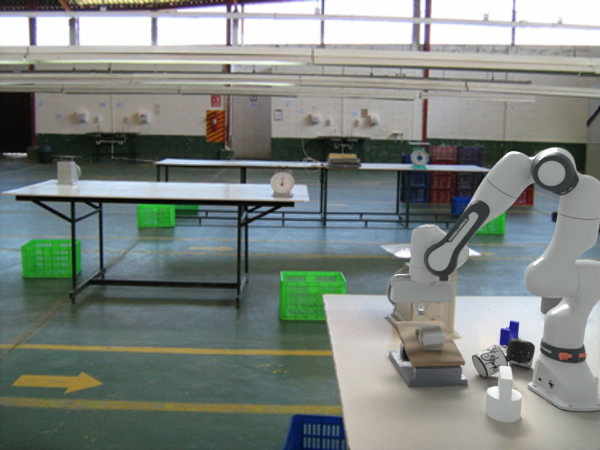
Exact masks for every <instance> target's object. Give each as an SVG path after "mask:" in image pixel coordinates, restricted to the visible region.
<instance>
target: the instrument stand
mask: <svg viewBox="0 0 600 450" xmlns="http://www.w3.org/2000/svg"><path fill="white" fill-rule="evenodd" d="M399 347H400V349H394V350H391V349H389V352H388V357H389V358H390V360H391V361H392V363H393V364H394V366H395V368H396V369H397V371H398V374H400V377H402V379H403V381H404V382H405V384H406V385H407V387H408V388H429V387H430V388H431V387H435V388H436V387H459V386H460V387H461V386H462V387H463V386H468V380H469V379H468V377H467V376H466V375H465V374H464V373H463V368H462V367H463V366H462V365H459V366H420V367H412V365H411V363H410V361H409V358H408V356H407V354H406V351H405V349H404V346H403V344H402V342H400V345H399Z"/></svg>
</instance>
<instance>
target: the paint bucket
mask: <svg viewBox="0 0 600 450" xmlns="http://www.w3.org/2000/svg"><path fill="white" fill-rule="evenodd" d="M506 348H507V349H506V354H505V353H504V351H503V349H501V348H500V347H499V346H498V345H497V344H493V345H491V346H489V347H486V348H485V349H482V350H480V351H478V352H476V353H475V354H472V356H471V361H472V364H473V366H474V368H475V370H476V372H477V373H478V374H479V376H480V377H482V378H483V379H488V378H489V377H491V376H493V375H495V374H497V373H499V366H508V367H509V364H510V365H515V366H520V367H523V368H528V369H532V365H533V362H534V355H535V352H536V351H535V350H536V345H535V344H534V343H532V342H531V341H527V340H522V339H519V338H517V339H514V338H510V340H509V342H508V347H507V346H506Z"/></svg>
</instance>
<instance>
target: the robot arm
mask: <svg viewBox="0 0 600 450" xmlns="http://www.w3.org/2000/svg"><path fill="white" fill-rule="evenodd" d="M532 184H536V185H537V187H539V188H540V189H542V190H545V191H548V192H551V193H552V194H555V195H558V196H559V202H558V209H557V216H556V223H555V226H554V230H553V231H554V232H553V236H552V239H551V241H550V243H549V244H548V246H547V247H546V249H545V250H544V252H543V253H542V254H541V255H540V256H539V257H537V259H535V260H534V261H532V262H531V263H529V264H528V266H527V267H526V268H525V271H524V274H523V282H524V286H525V288H526V290H527V291H528V292H529V293H530V294H531V295H532V296H536V297H541V298H542V297H546V298H563V299H562V301H561V302H560V303H559V304H558V305H557V306H556V307H554V308H552V309H551V310H549V311H548V312H547V314H545V316H544V322H543V334H542V338H541V340H540V343H539V344H540V345H539V346H540V347H539V350H540V353H539V356H538V357H537V359H535V363H534V368H533V372H532V373H533V374H532V379H531V381H530V382H528V384H527V388H528V389H529V390H531V391H532V392H534V393H535V394H537V395H538V396H540V397H542V398H543V399H545V400H546V401H547V402H549V403H551V404H552V405H554V406H556V407H557V408H559V409H561V410H565V411H572V412H596V411H600V394H599V386H598V385H599V377H598V376H595V375H594V374H593V372H592V370H591V368H590V366H589V365H588V363H587V361H586V360H587V358H588V356H587V355H588V353H587V351H586V347H585V344H584V343H585V342H584V341H585V334H586V327H587V322H588V318H589V317H590V314H591V312H592V310H593V308H595V306H596V305H597V303H598V302H599V301H600V261H598V260H593V259H578V258H580V256H581V255H582V254H583V253H585V252H586V251H588V250H591V248H593V247H594V246H595V245H596V243H597V240H598V235H599V229H600V180H599V179H597V178H596V177H594V176H592V175H589V174H582V173H580V172H579V171H578V170H577V166H576V160H575V157H574V155H573V153H572V152H571V151H570V150H568V149H567V148H565V147H562V146H550V147H547V148H544V149H542V150H539V151H537V152H535V153H533V154H532V155H530V156H529V155H527V154H525V153H523V152H520V151H516V150H515V151H509V152H507V153H506V154H505V155H503V157H501V158H500V159H499V160H498V161H497V162H496V163H495V164H494V165H493V167H492V168H491V169H490V170H489V171H488V173H486V175H485V176H484V178H483V179H482V181H481V183H480V184H479V185H478V187H477V189H476V190H475V192H474V194H473V196H472V198H471V199H470V202H469V203H468V204H467V206H466V208H465V209H464V212H463V213H462V214H461V215H460V216H459V218H458V219H457V220H456V222H454V224H453V226H452V227H451V228H450V229H449V231H448V232H446V231H444V230H443V229H441V228H440V227H439V226H438V225H436V224H435V223H434V224H433V223H428V224H426V223H425V224H421V225H418V226H416V227H415V228H413V230H412V233H411V237H410V238H411V239H410V247H409V252H410V261H409V264H408V265H409V266H408V268H409V269H408V273H397V274H395V275H393V276H392V277H391V278H390V286H391V288H390V295H389V298H390V300H391V301H392V302H393V303H394V304H411V303H412V306H413V308H414V309H415V312H414V313H415V316H426V313H427V312H426V311H427V310H428V308H429V307H430V305H431V303H451V302H452V301H453V300H454V286H453V283H452V278H453V277H452V275H451V274H452V273H453V272H455V271H456V270H457V269H458V268H460V267H461V266H463V265H464V264H465V263H467V261H468V259H469V257H470V249H469V246H468V243H469V242H470V241H471V239H473V237H474V236H475V234H477V232H478V231H479V230H481V228H482V227H484V226H485V225H487V224H488V223H489V222H491V221H492V220H495V219H496V218H497V217H499V216H501V215H502V214H504V213H505V212H506V211H507V210H508V209H509V208H510V207H511V206H513V204H514V203H515V202H516V201H517V199H519V197H520V196H521V195H522V193H523V192H524V190H525V189H526V188H527V187H529V186H530V185H532ZM421 303H422V304H423V306H422V308H419V307H418V306H419V304H421Z"/></svg>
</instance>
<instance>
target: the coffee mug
mask: <svg viewBox="0 0 600 450" xmlns="http://www.w3.org/2000/svg"><path fill="white" fill-rule="evenodd" d="M562 299H563V298H546V297H541V300H540V301H541V302H540V310H539V311H540V312H541V313H543V314H545V315H546V314H547V312H548V311H549V310H551V309H552V308H554V307H556V306H557V305H558V304H559V303H560V302H561V301H562Z"/></svg>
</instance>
